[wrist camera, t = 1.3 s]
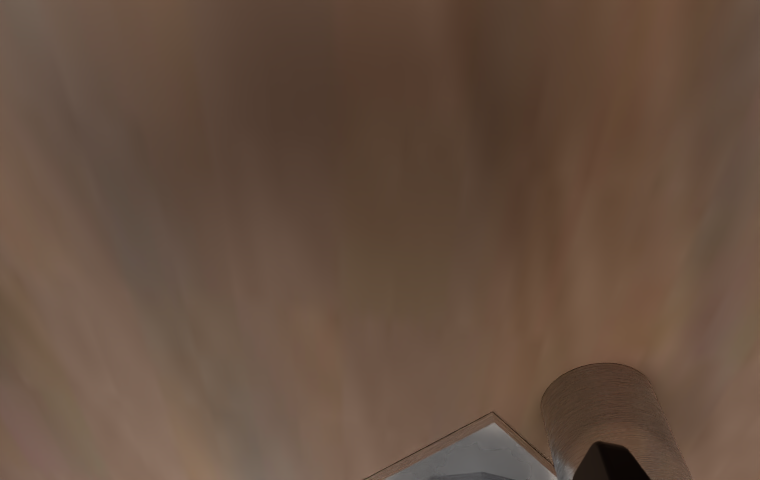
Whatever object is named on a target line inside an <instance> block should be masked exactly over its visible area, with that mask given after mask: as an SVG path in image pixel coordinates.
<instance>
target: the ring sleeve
mask: <svg viewBox="0 0 760 480" xmlns="http://www.w3.org/2000/svg"><path fill="white" fill-rule="evenodd" d="M365 480H558V479H557V475H556V471H555V467H554V466H553V465H552V464H550V463H549V462H548V461H547V460H546V459H545V458H544V457H543V456H541V455H540V454H539V453H538V452H537V451H536V450H535V449H533V448H532V447H531V446H530V445H529V444H528V443H527V442H526V441H524V440H523V439H522V438H521V437H520V436H519V435H518V434H517V433H515V432H514V431H513V430H512V429H511V428H510V427H509V426H508V425H506V424H505V423H504V422H503V421H502V420H501V419H500V418H499V417H497V416H496V415H495V414H494V413H493V412H492V413H490V414H488V415H487V416H485V417H483V418H481V419H479V420H477V421H475V422H473V423H471V424H469V425H468V426H466V427H464V428H462V429H460V430H458V431H456V432H454V433H452V434H450V435H449V436H447V437H445V438H443V439H441V440H439V441H437V442H435V443H433V444H432V445H430V446H428V447H426V448H424V449H422V450H420V451H418V452H416V453H414V454H413V455H411V456H409V457H407V458H405V459H403V460H401V461H399V462H397V463H396V464H394V465H392V466H390V467H388V468H386V469H384V470H382V471H380V472H378V473H377V474H375V475H373V476H371V477H369V478H367V479H365Z"/></svg>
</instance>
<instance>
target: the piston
mask: <svg viewBox="0 0 760 480" xmlns="http://www.w3.org/2000/svg"><path fill="white" fill-rule="evenodd" d="M541 412H542V416H543V420H544V425H545V429H546V433H547V437H548V441H549V446H550V450H551V454H552V458H553V463H554V467H555V471H556V475H557V479H558V480H572V479H573V476H574V473H575V471H576V470H577V468H578V466H579V465H580V463H581V461H582V460H583V458H584V456H585V455H586V453H587V451H588V449H589V448H590V446H591V445H592V444H593V443H594V442H596V441H603V442H608V443H614V444H619V445H622V446H624V447H626V448H627V449H628V450H629V451H630V452H631V453H632V455H633V456H634V457H635V459H636V460H637V461H638V463H639V464H640V465H641V467H642V468H643V469H644V471H645V472H646V473H647V475H648V476H649V477H650V479H651V480H693V478H692V476H691V474H690V471H689V469H688V467H687V465H686V462H685V460H684V458H683V456H682V453H681V451H680V449H679V447H678V444H677V442H676V440H675V438H674V435H673V433H672V431H671V429H670V426H669V424H668V422H667V420H666V417H665V415H664V413H663V411H662V408H661V406H660V404H659V402H658V399H657V397H656V395H655V393H654V390H653V388H652V386H651V384H650V382H649V381H648V379H647V378H646V377H645V376H644V375H643V374H641V373H640V372H639V371H637V370H635V369H633V368H630V367H628V366H624V365H620V364H612V363H600V364H592V365H586V366H583V367H579V368H576V369H574V370H571V371H569V372H567V373H565V374H564V375H562V376H560V377H559V378H558V379H556V380H555V381H554V382H553V383H552V384H551V385H550V386H549V387H548V389H547V390H546V392H545V393H544V395H543V398H542V402H541Z"/></svg>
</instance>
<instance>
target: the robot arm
mask: <svg viewBox="0 0 760 480" xmlns="http://www.w3.org/2000/svg"><path fill="white" fill-rule="evenodd" d="M572 480H651V479H650V477H649V476H648V475H647V473H646V472H645V471H644V469H643V468H642V467H641V465H640V464H639V463H638V461H637V460H636V459H635V457H634V456H633V455H632V453H631V452H630V451H629V450H628V449H627V448H626V447H624V446H622V445H619V444H614V443H608V442H603V441H596V442H594V443H593V444H592V445H591V446H590V448H589V449H588V451H587V453H586V455H585V456H584V458H583V460H582V461H581V463H580V465H579V466H578V468H577V470H576V471H575V473H574V476H573V479H572Z"/></svg>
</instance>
